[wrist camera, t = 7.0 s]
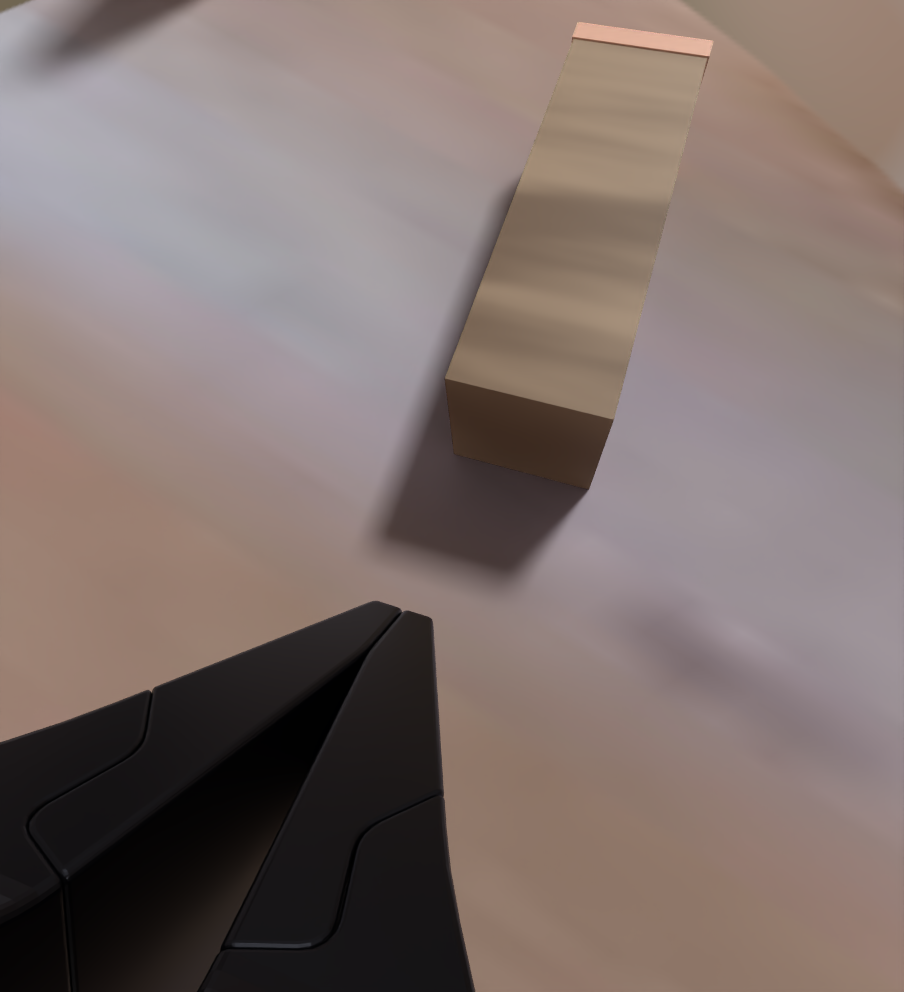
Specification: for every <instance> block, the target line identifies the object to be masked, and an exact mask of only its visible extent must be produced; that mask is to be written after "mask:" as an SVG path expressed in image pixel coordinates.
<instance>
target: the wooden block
mask: <svg viewBox="0 0 904 992" xmlns="http://www.w3.org/2000/svg"><path fill="white" fill-rule="evenodd" d="M712 45H713V41H711V40H704V39H697V38H689V37H682V36H675V35H668V34H661V33H653V32H646V31H639V30H632V29H625V28H617V27H610V26H603V25H596V24H589V23H581V22H578V23H577V26H576V29H575V31H574V34H573V37H572V44H571V47H570V50H569V52H568V55H567V57H566V60H565V63H564V65H563V68H562V71H561V73H560V76H559V79H558V81H557V84H556V86H555V89H554V92H553V94H552V97H551V100H550V102H549V105H548V107H547V110H546V113H545V115H544V118H543V121H542V123H541V126H540V129H539V131H538V134H537V136H536V139H535V142H534V144H533V147H532V150H531V152H530V155H529V158H528V160H527V163H526V165H525V168H524V171H523V173H522V176H521V179H520V181H519V184H518V187H517V189H516V192H515V194H514V197H513V200H512V202H511V205H510V208H509V210H508V213H507V216H506V218H505V221H504V223H503V226H502V229H501V231H500V234H499V237H498V239H497V242H496V245H495V247H494V250H493V252H492V255H491V258H490V260H489V263H488V266H487V268H486V271H485V274H484V276H483V279H482V281H481V284H480V287H479V289H478V292H477V295H476V297H475V300H474V303H473V305H472V308H471V310H470V313H469V316H468V318H467V321H466V324H465V326H464V329H463V332H462V334H461V337H460V339H459V342H458V345H457V347H456V350H455V353H454V355H453V358H452V361H451V363H450V366H449V368H448V371H447V374H446V376H445V385H446V393H447V401H448V409H449V417H450V425H451V433H452V442H453V450H454V454H456V455H460V456H464V457H467V458H471V459H475V460H479V461H482V462H486V463H490V464H494V465H498V466H501V467H505V468H509V469H513V470H517V471H520V472H524V473H528V474H532V475H535V476H539V477H543V478H547V479H551V480H554V481H558V482H562V483H566V484H569V485H573V486H577V487H581V488H585V489H588V490H589V488H590V485H591V482H592V479H593V477H594V474H595V471H596V468H597V465H598V463H599V460H600V457H601V454H602V451H603V448H604V446H605V443H606V440H607V437H608V434H609V432H610V429H611V426H612V423H613V420H614V417H615V413H616V409H617V405H618V401H619V397H620V394H621V390H622V386H623V382H624V378H625V374H626V370H627V367H628V363H629V359H630V355H631V351H632V347H633V343H634V340H635V336H636V332H637V328H638V324H639V320H640V316H641V312H642V309H643V305H644V301H645V297H646V293H647V289H648V285H649V282H650V278H651V274H652V270H653V266H654V262H655V258H656V255H657V251H658V247H659V243H660V239H661V235H662V231H663V227H664V224H665V220H666V216H667V212H668V208H669V204H670V200H671V197H672V193H673V189H674V185H675V181H676V177H677V173H678V170H679V166H680V162H681V158H682V154H683V150H684V146H685V142H686V139H687V135H688V131H689V127H690V123H691V119H692V115H693V112H694V108H695V104H696V100H697V96H698V92H699V89H700V85H701V82H702V79H703V76H704V72H705V69H706V66H707V63H708V59H709V56H710V52H711V48H712Z"/></svg>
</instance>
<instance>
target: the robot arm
mask: <svg viewBox="0 0 904 992" xmlns="http://www.w3.org/2000/svg"><path fill="white" fill-rule="evenodd" d="M443 796H444V789H443V773H442V757H441V741H440V725H439V709H438V694H437V678H436V662H435V646H434V630H433V621H432V619H431V618H430V617H427V616H424V615H421V614H418V613H414V612H411V611H403V612H402V610H401V609H400V608H398V607H395V606H392V605H389V604H385V603H382V602H379V601H372V602H369V603H366V604H364V605H361V606H358V607H356V608H353V609H351V610H348V611H346V612H343V613H341V614H338V615H336V616H333V617H331V618H328V619H326V620H323V621H321V622H318V623H316V624H313V625H310V626H308V627H305V628H303V629H300V630H298V631H295V632H293V633H290V634H288V635H285V636H283V637H280V638H278V639H275V640H273V641H270V642H267V643H265V644H262V645H260V646H257V647H255V648H252V649H250V650H247V651H245V652H242V653H240V654H237V655H235V656H232V657H230V658H227V659H225V660H222V661H219V662H217V663H214V664H212V665H209V666H207V667H204V668H202V669H199V670H197V671H194V672H192V673H189V674H187V675H184V676H182V677H179V678H176V679H174V680H171V681H169V682H166V683H164V684H161V685H159V686H156V687H154V688H153V691H152V693H151V691H149V690H146V691H143V692H140V693H138V694H135V695H133V696H130V697H128V698H125V699H123V700H120V701H118V702H115V703H112V704H110V705H107V706H104V707H102V708H99V709H96V710H94V711H91V712H88V713H86V714H83V715H80V716H77V717H75V718H72V719H69V720H67V721H64V722H61V723H58V724H55V725H52V726H49V727H46V728H43V729H40V730H37V731H34V732H31V733H28V734H25V735H22V736H18V737H15V738H12V739H9V740H6V741H3V742H0V992H475V988H474V984H473V979H472V975H471V970H470V965H469V961H468V956H467V951H466V947H465V942H464V938H463V933H462V928H461V924H460V919H459V913H458V907H457V902H456V896H455V890H454V885H453V879H452V874H451V867H450V857H449V847H448V838H447V828H446V814H445V800H444V798H443Z"/></svg>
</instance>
